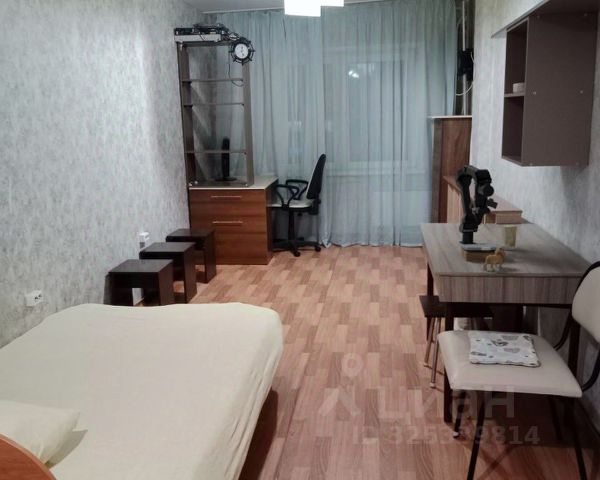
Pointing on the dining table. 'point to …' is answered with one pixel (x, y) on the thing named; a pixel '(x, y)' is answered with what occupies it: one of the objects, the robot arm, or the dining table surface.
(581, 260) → the dining table surface
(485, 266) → the lion figurine
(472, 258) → the walnut box
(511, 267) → the dining table surface
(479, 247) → the lid
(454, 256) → the dining table surface
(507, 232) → the skincare box
